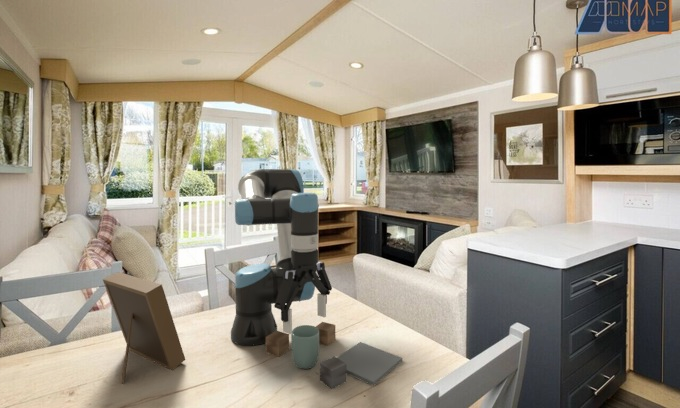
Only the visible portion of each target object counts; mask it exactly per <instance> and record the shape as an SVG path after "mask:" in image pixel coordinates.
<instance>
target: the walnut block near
mask: <svg viewBox="0 0 680 408" xmlns="http://www.w3.org/2000/svg"><path fill="white" fill-rule="evenodd" d="M289 350H290V334H288V333H286V332H284V331H283V332H282V331H279V330H277V331H275V332H273V333H271V334H270V335H268V336H267V337H266V343H265V354H269V355H271V356H275V357H279V358H280V356H283V355H284V354H285V353H286V352H288V351H289Z"/></svg>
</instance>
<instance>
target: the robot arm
mask: <svg viewBox="0 0 680 408" xmlns="http://www.w3.org/2000/svg"><path fill="white" fill-rule="evenodd" d="M237 186H238V187H237V190H238V193H239V195H240V196H241V199H236V200H235V202H234V219H235V220H234V221H235V224H236V225H238V226H258V225H259V226H261V225H276V227H277V228H276V229H277V239H278V251H279V253H278V254H279V260H278V261H277V262H276V263H275V267H274V268H273V267H272V266H271V265H270V264H269V263H264V262H263V263H254V264H250V265H247V266H244V267H242V268H239V270H237V271H236V273H235V275H234V285H233V287H234V288H235V291H234V292H235V294H234V295H235V296H234V297H235V316H234V320H233V322H232V328H231V329H230V339H231V341H232V342H233V343H234V344H237V345H239V346H248V347H249V346H258V345H263V344H266V337H267V336H268V335H270V334H271V333H273V332H275V331H278V325H277V322H276V318H275V316H274V314H273V310H272V306H273V304H274V308H275V309H278V310H280V319H281V322H282V331H283V333H287V334H289V335H291V334H292V330H293V309H292V308H291V306H292V304H293V303H294V302H299V303H301V302H303V301H308V300H311V299H312V298H313V297H314V294H315V290H316V289H317V290H318V292H319V293H317V296H316V297H317V300H316V301H317V302H316V303H317V306H316V307H317V309H316V310H317V316H319V317H320V318H321V317H322V318H326V317H327V303H328V300H327V299H328V296H329V295H330V294H331V291H332V289H333V287H332V283H331V281H330V279H329V275H328V273H327V271H326V266H325V262H323V261H319V250H318V247H319V207H320V206H319V198H318V195H317V194H316V193H315V192H314V193H313V192H304V191H305V189H304V188H305V187H304V181H303V176H302V174H301V172H300V171H299V170H298V169H293V168H286V169H284V168H283V169H280V168H279V169H278V168H270V169H269V168H268V169H267V168H266V169H265V168H259V169H255V170H252V171H250V172H248V173H246V174H244V175H243V176H242V177H241V179H240V180H239V181H238V185H237ZM315 288H316V289H315ZM327 295H328V296H327Z"/></svg>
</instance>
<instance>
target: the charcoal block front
mask: <svg viewBox="0 0 680 408" xmlns="http://www.w3.org/2000/svg"><path fill="white" fill-rule="evenodd" d="M346 367H347V364H346V363H344V362H343V361H341V360H339V359H338V358H336V356H331V357H330V358H329V357H328V358H327V359H324V360H322V361H320V362H319V381H320V382H321V383H322V384H324V385H325V387H327V388H329V389H330V390H334V389H335V388H337V387H339V386H341V385H343V384H345V383H347V373H346Z"/></svg>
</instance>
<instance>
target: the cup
mask: <svg viewBox="0 0 680 408" xmlns="http://www.w3.org/2000/svg"><path fill="white" fill-rule="evenodd" d="M290 335H291V337H290V338H291V343H290V344H291V355H292V362H293V363H294V365H295V366H296V367H297V368H299V369H305V370H306V369H311V368H313V367H314V366H316V365H317V362H318V359H319V354H320V344H319V329H318V328H317V327H316V326H315V325H308V324H302V325H298V326H296V327H294V328H292V333H291V334H290Z"/></svg>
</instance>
